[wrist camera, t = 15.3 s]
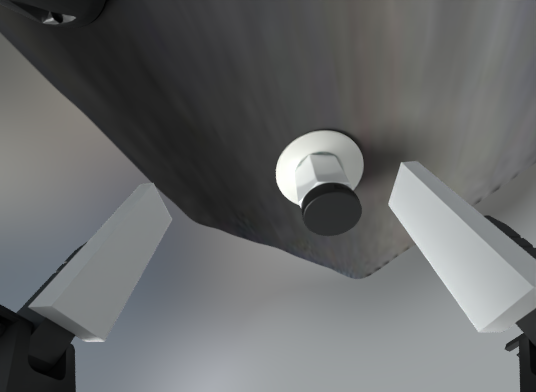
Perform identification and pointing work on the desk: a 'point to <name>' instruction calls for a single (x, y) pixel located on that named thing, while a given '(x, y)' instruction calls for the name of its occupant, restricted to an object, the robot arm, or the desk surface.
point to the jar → (326, 196)
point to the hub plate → (318, 145)
